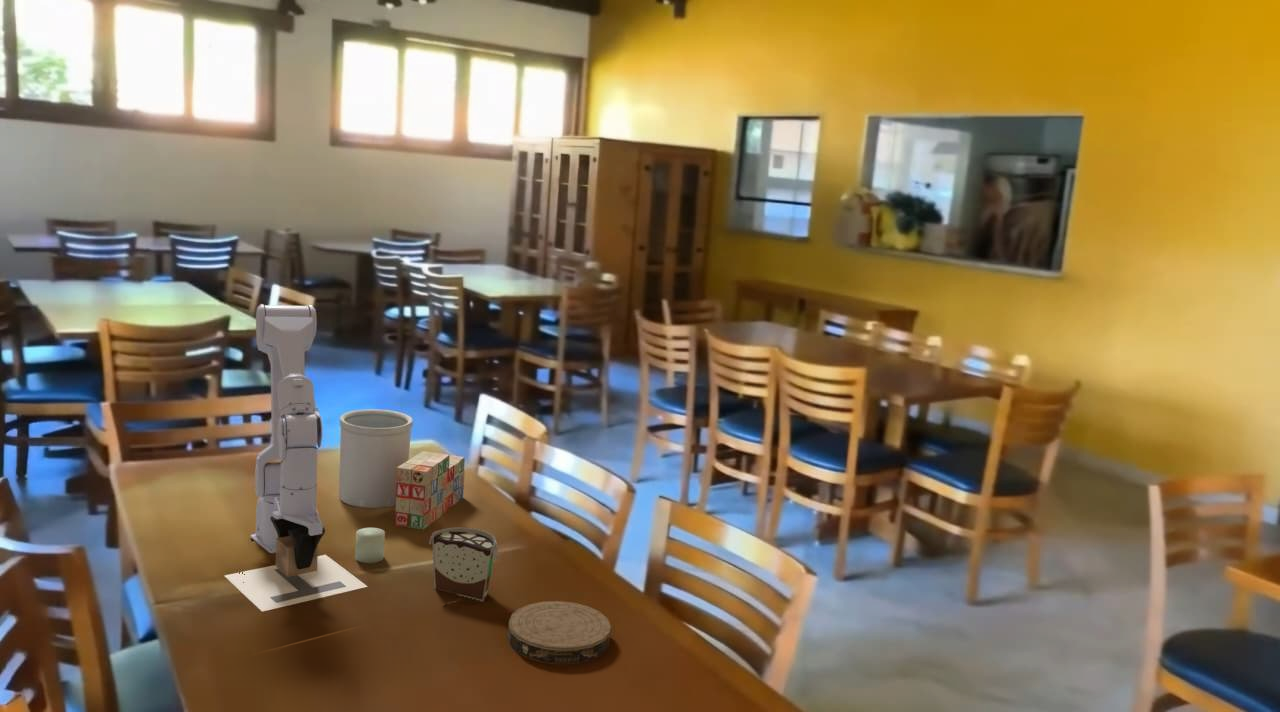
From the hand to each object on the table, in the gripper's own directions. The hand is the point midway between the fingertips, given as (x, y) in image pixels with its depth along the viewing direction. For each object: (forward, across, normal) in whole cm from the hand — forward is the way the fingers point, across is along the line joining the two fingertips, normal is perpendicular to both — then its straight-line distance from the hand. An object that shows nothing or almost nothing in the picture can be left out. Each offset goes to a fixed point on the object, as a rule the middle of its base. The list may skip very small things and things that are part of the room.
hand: (296, 561), depth 167 cm
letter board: (+4, 0, 0) cm, 4 cm away
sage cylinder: (+4, -3, +15) cm, 16 cm away
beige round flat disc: (+4, +40, +25) cm, 47 cm away
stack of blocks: (+4, -19, +37) cm, 42 cm away
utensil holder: (+4, -32, +31) cm, 45 cm away
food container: (+4, +17, +23) cm, 29 cm away
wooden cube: (+1, 0, 0) cm, 1 cm away
